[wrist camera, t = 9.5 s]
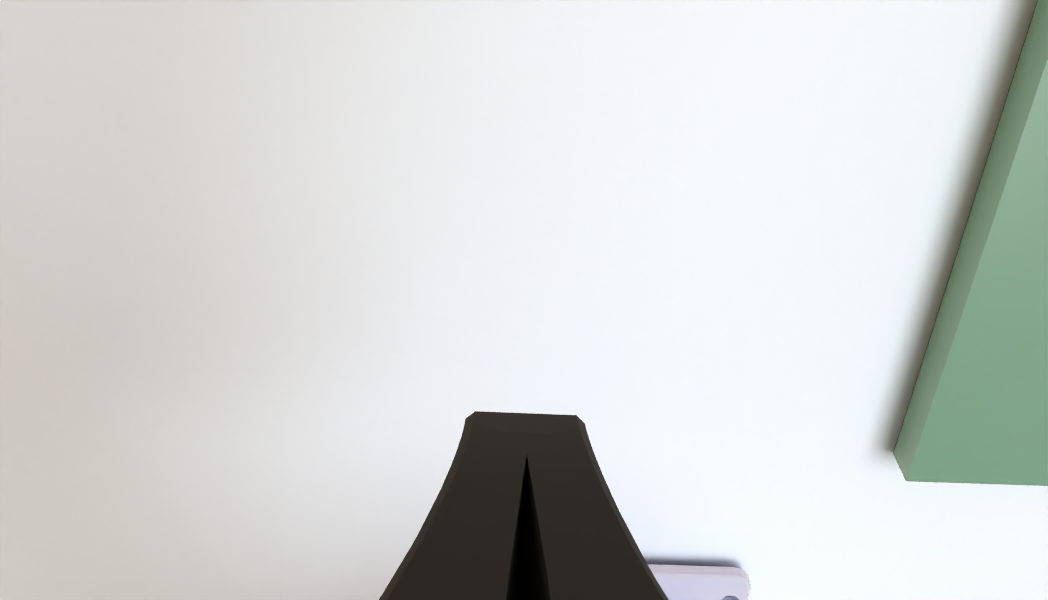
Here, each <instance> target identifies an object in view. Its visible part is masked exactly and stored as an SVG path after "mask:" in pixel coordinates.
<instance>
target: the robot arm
mask: <svg viewBox="0 0 1048 600" xmlns="http://www.w3.org/2000/svg"><path fill="white" fill-rule="evenodd" d="M749 592H750V582H749V577H748V575H747V573H746V572H745V571H744V570H742V569H740V568H735V567H718V566H686V565H654V564H647V563H646V561H645V559H644V557H643V556H642V554H641V552H640V550H639V548H638V546H637V544H636V542H635V541H634V539H633V537H632V535H631V533H630V531H629V529H628V527H627V525H626V523H625V521H624V520H623V518H622V516H621V514H620V512H619V510H618V508H617V506H616V503H615V501H614V499H613V497H612V495H611V493H610V490H609V488H608V486H607V484H606V481H605V479H604V477H603V475H602V472H601V470H600V467H599V465H598V462H597V460H596V457H595V455H594V452H593V449H592V447H591V444H590V441H589V438H588V434H587V431H586V427H585V423H584V422H583V421H582V420H581V419H579V418H578V417H577V416H576V415H552V414H527V413H501V412H476V411H475V412H474V413H473V414H471V415H470V416H469V417H467V418H466V420H465V425H464V429H463V433H462V437H461V440H460V443H459V446H458V449H457V452H456V455H455V457H454V460H453V462H452V465H451V467H450V470H449V472H448V474H447V477H446V479H445V481H444V483H443V486H442V488H441V490H440V492H439V494H438V496H437V498H436V500H435V502H434V504H433V506H432V508H431V510H430V512H429V514H428V516H427V518H426V520H425V522H424V524H423V526H422V528H421V530H420V532H419V534H418V535H417V537H416V539H415V541H414V543H413V544H412V546H411V548H410V550H409V551H408V553H407V555H406V556H405V558H404V560H403V561H402V563H401V565H400V566H399V568H398V570H397V571H396V573H395V575H394V576H393V578H392V579H391V581H390V583H389V584H388V586H387V588H386V589H385V591H384V593H383V594H382V596H381V597H380V599H379V600H748V597H749ZM726 596H731V597H726Z"/></svg>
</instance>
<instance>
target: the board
mask: <svg viewBox="0 0 1048 600" xmlns="http://www.w3.org/2000/svg"><path fill="white" fill-rule="evenodd" d="M893 454H894V456H895V458H896V460H897V463H898V465H899V467H900V469H901V471H902V473H903V475H904V478H905V480H906V481H918V482H948V483H979V484H1009V485H1040V486H1048V0H1038V2H1037V5H1036V8H1035V11H1034V14H1033V17H1032V21H1031V24H1030V27H1029V30H1028V33H1027V36H1026V39H1025V43H1024V46H1023V49H1022V52H1021V55H1020V58H1019V61H1018V64H1017V68H1016V71H1015V74H1014V77H1013V80H1012V83H1011V86H1010V90H1009V93H1008V96H1007V99H1006V102H1005V105H1004V108H1003V112H1002V115H1001V118H1000V121H999V124H998V127H997V130H996V133H995V137H994V140H993V143H992V146H991V149H990V152H989V155H988V159H987V162H986V165H985V168H984V171H983V174H982V177H981V181H980V184H979V187H978V190H977V193H976V196H975V199H974V202H973V206H972V209H971V212H970V215H969V218H968V221H967V224H966V228H965V231H964V234H963V237H962V240H961V243H960V246H959V250H958V253H957V256H956V259H955V262H954V265H953V268H952V271H951V275H950V278H949V281H948V284H947V287H946V290H945V293H944V297H943V300H942V303H941V306H940V309H939V312H938V315H937V318H936V322H935V325H934V328H933V331H932V334H931V337H930V340H929V344H928V347H927V350H926V353H925V356H924V359H923V362H922V366H921V369H920V372H919V375H918V378H917V381H916V384H915V387H914V391H913V394H912V397H911V400H910V403H909V406H908V409H907V413H906V416H905V419H904V422H903V425H902V428H901V431H900V435H899V438H898V441H897V444H896V447H895V450H894V453H893Z"/></svg>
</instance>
